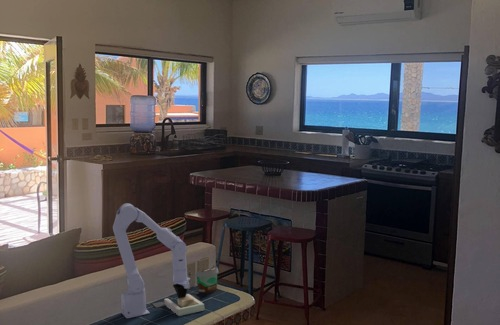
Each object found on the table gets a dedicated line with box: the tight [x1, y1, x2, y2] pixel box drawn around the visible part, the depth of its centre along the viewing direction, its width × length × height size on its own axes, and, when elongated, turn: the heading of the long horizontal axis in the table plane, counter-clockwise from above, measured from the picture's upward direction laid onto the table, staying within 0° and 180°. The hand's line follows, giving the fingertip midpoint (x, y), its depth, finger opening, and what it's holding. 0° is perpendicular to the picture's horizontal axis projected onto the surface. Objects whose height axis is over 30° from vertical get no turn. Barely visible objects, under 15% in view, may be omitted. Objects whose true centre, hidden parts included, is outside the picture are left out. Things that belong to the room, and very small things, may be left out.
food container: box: [195, 264, 219, 294], centre depth 239 cm, size 12×6×10 cm, turn 143°
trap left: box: [151, 301, 167, 309], centre depth 224 cm, size 4×6×1 cm
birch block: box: [177, 296, 194, 308], centre depth 218 cm, size 5×5×4 cm
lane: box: [163, 293, 205, 317], centre depth 219 cm, size 11×16×2 cm, turn 28°
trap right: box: [190, 294, 201, 300], centre depth 231 cm, size 4×6×1 cm
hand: (181, 301), depth 221 cm, fingers closed
